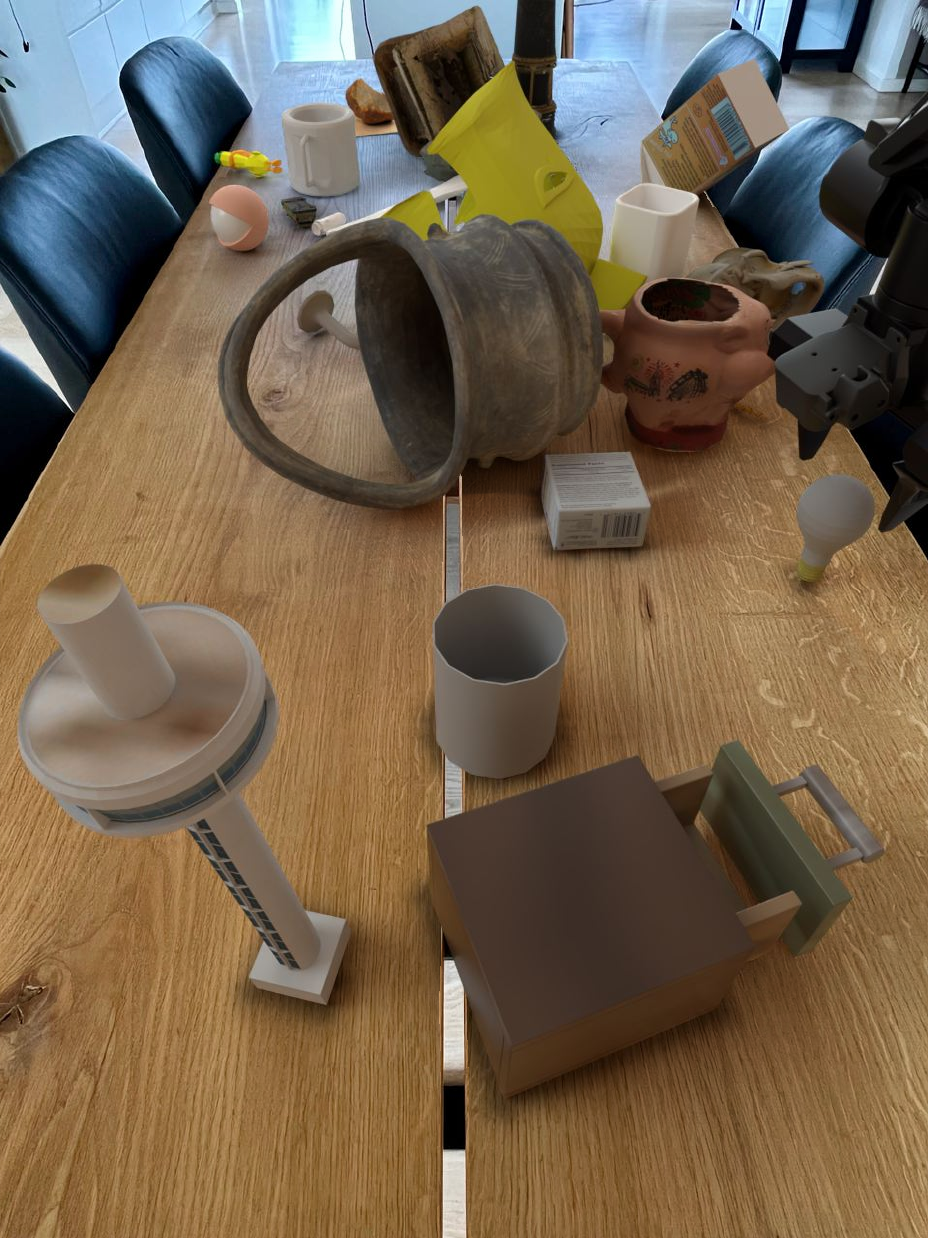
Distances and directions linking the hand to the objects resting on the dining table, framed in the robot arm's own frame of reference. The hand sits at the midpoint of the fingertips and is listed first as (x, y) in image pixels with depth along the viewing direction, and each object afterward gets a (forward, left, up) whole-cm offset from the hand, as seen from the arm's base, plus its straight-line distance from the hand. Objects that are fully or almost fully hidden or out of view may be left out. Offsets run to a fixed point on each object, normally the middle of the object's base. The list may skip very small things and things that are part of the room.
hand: (843, 492), depth 63 cm
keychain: (+24, -8, -9) cm, 27 cm away
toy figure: (+105, +22, -7) cm, 107 cm away
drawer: (-21, +22, -8) cm, 32 cm away
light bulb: (0, 0, -9) cm, 9 cm away
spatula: (+85, +8, -7) cm, 85 cm away
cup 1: (-5, +30, -9) cm, 32 cm away
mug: (+99, +17, -9) cm, 100 cm away
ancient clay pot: (+28, +12, +1) cm, 31 cm away
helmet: (+60, +13, +10) cm, 62 cm away
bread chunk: (+127, -2, -12) cm, 128 cm away
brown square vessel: (+104, -8, +2) cm, 104 cm away
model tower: (-16, +46, -9) cm, 50 cm away
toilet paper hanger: (+55, +18, -10) cm, 59 cm away
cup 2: (+42, -7, -9) cm, 43 cm away
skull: (+29, -16, -2) cm, 33 cm away
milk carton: (+71, -39, +5) cm, 81 cm away
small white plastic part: (+82, +19, -6) cm, 84 cm away
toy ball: (+81, +32, -9) cm, 88 cm away
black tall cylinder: (+112, -24, -9) cm, 114 cm away
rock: (+96, -9, -10) cm, 96 cm away
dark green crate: (+88, +22, -7) cm, 91 cm away
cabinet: (-21, +32, -9) cm, 39 cm away
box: (+9, +15, -6) cm, 18 cm away
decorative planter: (+23, +1, -9) cm, 25 cm away
